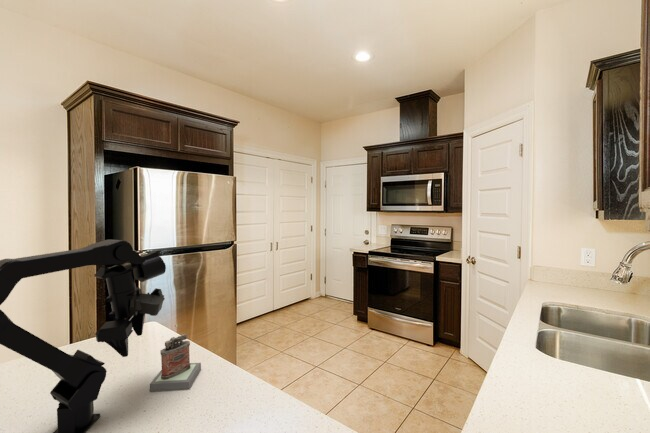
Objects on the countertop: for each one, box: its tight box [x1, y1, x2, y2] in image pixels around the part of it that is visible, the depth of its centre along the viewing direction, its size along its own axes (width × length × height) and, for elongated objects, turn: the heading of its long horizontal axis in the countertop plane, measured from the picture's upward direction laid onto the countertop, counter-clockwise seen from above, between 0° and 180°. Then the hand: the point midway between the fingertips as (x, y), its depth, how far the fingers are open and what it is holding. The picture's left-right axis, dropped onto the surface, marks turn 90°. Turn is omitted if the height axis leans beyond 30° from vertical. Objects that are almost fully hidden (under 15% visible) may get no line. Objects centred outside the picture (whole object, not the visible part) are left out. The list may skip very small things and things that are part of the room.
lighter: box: [160, 333, 191, 380], centre depth 86 cm, size 8×3×10 cm, turn 146°
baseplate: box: [149, 362, 202, 392], centre depth 86 cm, size 10×10×2 cm
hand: (133, 345), depth 79 cm, fingers open, 9 cm apart
